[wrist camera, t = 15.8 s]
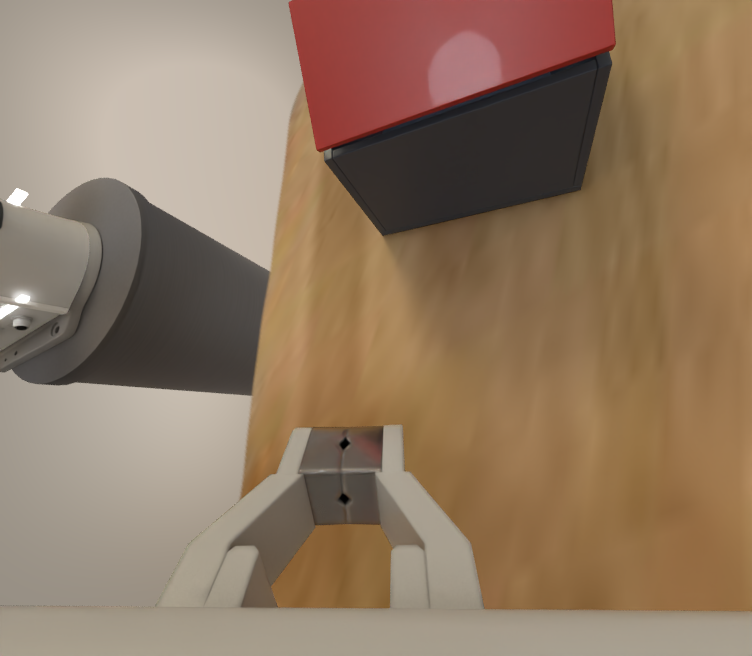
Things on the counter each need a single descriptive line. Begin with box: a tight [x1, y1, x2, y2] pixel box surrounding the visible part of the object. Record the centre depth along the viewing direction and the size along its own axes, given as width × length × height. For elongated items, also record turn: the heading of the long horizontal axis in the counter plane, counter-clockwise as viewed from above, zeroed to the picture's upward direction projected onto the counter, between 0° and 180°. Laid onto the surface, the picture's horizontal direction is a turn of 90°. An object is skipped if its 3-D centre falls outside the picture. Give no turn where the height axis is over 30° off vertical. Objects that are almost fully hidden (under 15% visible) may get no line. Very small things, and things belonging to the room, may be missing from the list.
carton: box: [324, 51, 612, 236], centre depth 22 cm, size 14×13×8 cm
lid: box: [289, 0, 616, 152], centre depth 15 cm, size 7×13×1 cm, turn 92°
